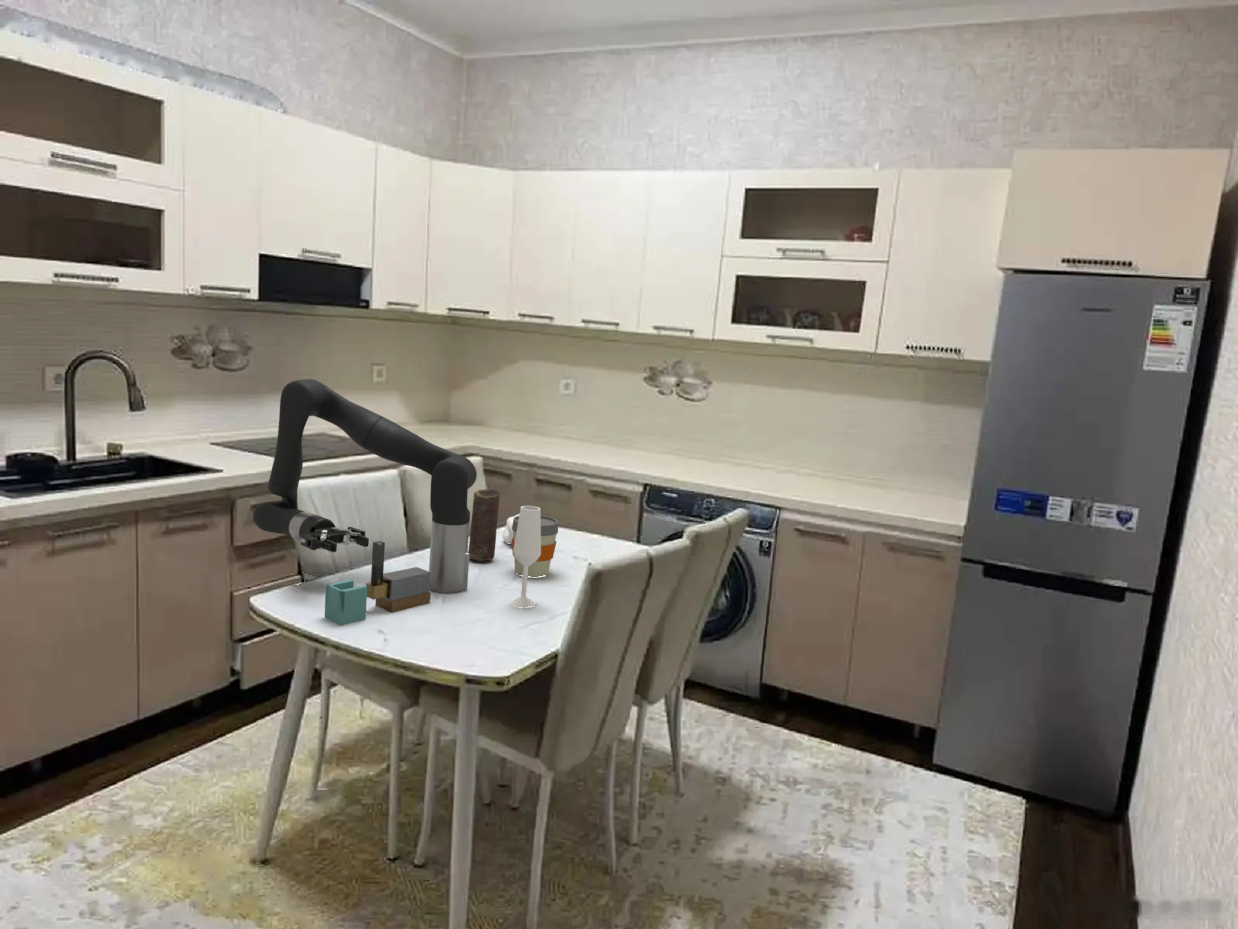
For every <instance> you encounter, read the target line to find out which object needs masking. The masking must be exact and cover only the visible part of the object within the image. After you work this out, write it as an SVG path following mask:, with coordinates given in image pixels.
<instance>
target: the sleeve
mask: <svg viewBox="0 0 1238 929" xmlns="http://www.w3.org/2000/svg"><path fill="white" fill-rule="evenodd" d="M383 580H386V581H388V582H390V595H389V596H387V597H383V598H378V599H375V607H379V609H380V608H381V609H383V610H384V611H386V612H389V613H391V614H392V613H395V612H401V611H404V610H409V609H412V608H416V607H420V606H423V605H428V604H431V596H432V595H431V592H430V589H429V588H430V572H429V570H426V569H423V568H421V567H418V566H415V567H410V568H405V569H401V570H396V571H391V572H386V573H383Z"/></svg>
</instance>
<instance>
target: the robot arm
mask: <svg viewBox="0 0 1238 929" xmlns="http://www.w3.org/2000/svg"><path fill="white" fill-rule="evenodd" d="M278 416H279V417H278V418H279V419H278V428H277V431H278V432H277V440H276V447H275V448H276V449H275V454H274V459H273V463H272V467H271V471H270V475H269V480H268V485H267V490H268V491H269V492H270V493H271V494H273V495H275V496H279V497H280V498H281V500H280V501H266V502H262V503H259V504H258V505H256V507H255V508H254V510H253V513H252V519H253V522H254V524H255V526H256V527H257V528H258V529H260V530H262V531H264V532H268V533H274V534H280V535H285V536H288V537H289V538H291V539H294V540H295V541H298V542H299V543H300V545H301V546H302V547H305V548H306V549H310V550H311V551H317V550H320V551H321V550H322V551H323V550H326V551H328V552H330V553H336V552H337V549H338V548H337V547H338V545H345V546H348V545H350V544H356V545H358V546H360V547H364V548H368V547H369V543H370V542H369V540H370V539H369V537H367V536H366V531H365V530H362V529H359V528H355V527H352V526H348V527H347V529H345V528H340V527H336V525H335V523H334V522H333V521H332V520H331V519H329V518H327V517H323V516H320V515H318V514H314V513H313V512H307V511H304V510H301V509H299V506H298V488H299V484H300V480H301V476H302V471H303V465H304V464H303V463H304V455H303V436H304V430H305V427H306V425H307V422H308V419H309V417H315V418H319V419H321V420H324V421H326V422H328V423H331V424H332V425H334V426H336V427H338V428H339V429H341V431H343V432H344V433H345V434H346V435H347V436H348V437H349V439H351V440H352V441H353V442H354V443H355V444H357V446H359V447H361V448H362V449H363V450H365V451H368V452H369V453H371V454H373V455H375V456H378V457H380V458H381V459H384V460H387V461H390V462H393V463H397V464H401V465H404V466H409V467H413V468H416V469H418V470H419V471H420V470H421V471H422V472H425V473H426V474H428V475H430V477H431V478H430V479H431V480H430V493H429V494H430V497H429V498H430V501H429V503H430V504H429V505H430V507H429V508H430V511H431V528H430V529H431V531H430V532H431V533H430V545H429V546H430V548H429V549H430V550H429V562H428V571H429V572H430V588H429V590H431V591H433V592H437V593H442V594H445V593H447V594H451V593H459V592H463V591H468V582H469V581H468V580H469V567H470V566H469V565H470V558H469V552H468V550H469V539H470V524H471V523H470V521H471V512H470V510H469V507H468V494H469V493H468V492H469V489H470V488H471V487H472V486H474V484H475V483H476V481H477V477H478V474H477V469H476V467H475V465H474V463H473V462H472V461H471V460H470V459H469V458H467V457H465V456H464V455H461V454H459V453H456V452H454V451H451V450H448V449H445V448H443V447H441V446H438V445H436V444H433V443H431V442H430V441H428V440H427V439H424V438H423V437H420V435H417V434H416V433H415V432H412V431H410V430H409V429H407V428H405V427H403V426H402V425H399V424H398V423H396V422H394V421H392V420H390V419H388V418H386V417H385V416H382V415H381V414H378V413H376V412H374V411H372V410H369V409H368V408H366V407H364V406H362V405H360V404H359V405H358V404H357V403H354V402H352V401H351V400H348V399H347V398H345V397H344V396H342V395H341V394H339V393H337V392H336V391H334V390H333V389H332V388H330V387H329V386H327V385H325V384H324V383H322V382H321V381H318V380H315V379H312V378H309V379H308V378H305V379H297V380H293V381H290V382H288V383H287V384H286V385H285V386H284V387H283V388H282V391H281V394H280V401H279V415H278ZM345 537H346V538H345Z"/></svg>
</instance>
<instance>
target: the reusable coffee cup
mask: <svg viewBox="0 0 1238 929" xmlns="http://www.w3.org/2000/svg"><path fill="white" fill-rule="evenodd" d="M513 517H514V516H513ZM518 520H519V516H516V517H514V520H513V525H512V530H513V538H512V544H511V546H512V547H511V548H512V552H513V549H514V543H515V538H516V532H517V526H518ZM558 533H559V521H558V520H557V519H556V518H553V517H550V516H545V515H541V555H540V557H539V558H538V559H537V560H536V561H535V562H534V563H533V564H531V565H529V566H528V576H531V577H538V576H543V575H547V574H548V575H549V572H550V568H551V567H550V566H551V562H552V560H553V559H554V555H555V550H556V546H557V540H556V538H557V535H558ZM512 556H513V558H514V573H515V572H516V573H517V574H518V575H523V567H524V566H523V565H522V564H521V563H520V562H519V561H518V560H517V559H516V558H515V556H514V554H513V553H512ZM518 575H517V576H518ZM548 575H547V576H548Z"/></svg>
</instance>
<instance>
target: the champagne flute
mask: <svg viewBox="0 0 1238 929" xmlns="http://www.w3.org/2000/svg"><path fill="white" fill-rule="evenodd" d="M519 514H520V515H519V520H518V526H517V532H516V538H515V543H514V549H513V551H512V555H513V554H514V556H515V558H516V559H517V560H518V561H519V562H520V563H521V564H522V565H523V566H524V567H523V577H522V581H521V592H520V594H521V595H520V597H517V598H515V599H512V600H511V601H509V603H510V604H509V606H511V605H512V606H511V607H513V606H516V607H523V608H525V607H528V606H529V607H530V606H535V603H536V602H535V601H534V600H532V599H531V598H528V596H527V591H528V590H527V588H528V578H527V577H528V566H529V565H531V564H533V563H534V562H535V561H536V560H537V559H538V558H539V557H540V555H541V516H542V515H541V508H540V507H539V506H534V505H522V506H520V509H519ZM514 556H513V557H514ZM534 602H535V603H534Z"/></svg>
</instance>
